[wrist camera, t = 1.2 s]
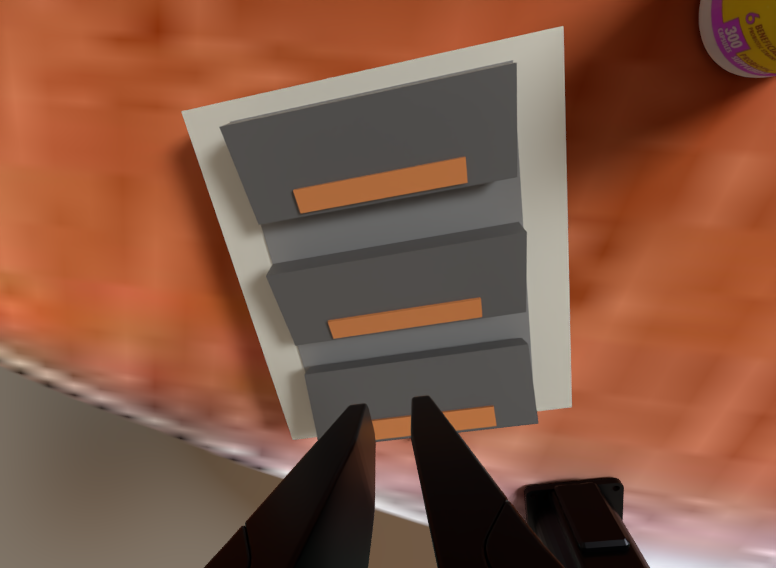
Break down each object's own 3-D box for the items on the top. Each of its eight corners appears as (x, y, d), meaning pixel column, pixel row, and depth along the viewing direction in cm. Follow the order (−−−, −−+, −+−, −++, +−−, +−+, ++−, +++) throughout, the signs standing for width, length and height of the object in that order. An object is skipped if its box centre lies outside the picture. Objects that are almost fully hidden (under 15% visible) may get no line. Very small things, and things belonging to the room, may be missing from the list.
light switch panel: (552, 414, 24) (573, 451, 21) (316, 441, 25) (305, 479, 22) (537, 47, 17) (564, 25, 14) (215, 118, 18) (179, 111, 16)
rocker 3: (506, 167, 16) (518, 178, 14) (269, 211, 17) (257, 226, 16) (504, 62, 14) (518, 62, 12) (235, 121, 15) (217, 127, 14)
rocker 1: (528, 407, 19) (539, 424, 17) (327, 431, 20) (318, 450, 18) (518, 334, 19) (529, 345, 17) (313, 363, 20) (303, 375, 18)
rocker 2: (515, 292, 18) (527, 314, 16) (302, 325, 19) (294, 347, 17) (515, 217, 16) (527, 233, 14) (275, 258, 17) (264, 277, 15)
